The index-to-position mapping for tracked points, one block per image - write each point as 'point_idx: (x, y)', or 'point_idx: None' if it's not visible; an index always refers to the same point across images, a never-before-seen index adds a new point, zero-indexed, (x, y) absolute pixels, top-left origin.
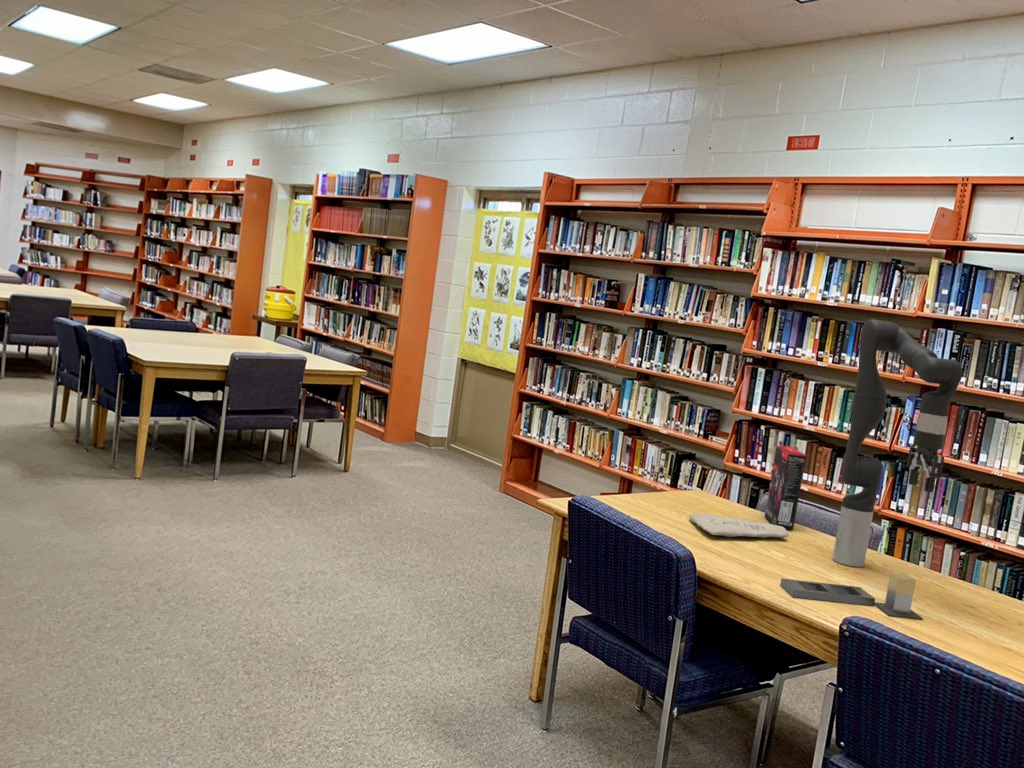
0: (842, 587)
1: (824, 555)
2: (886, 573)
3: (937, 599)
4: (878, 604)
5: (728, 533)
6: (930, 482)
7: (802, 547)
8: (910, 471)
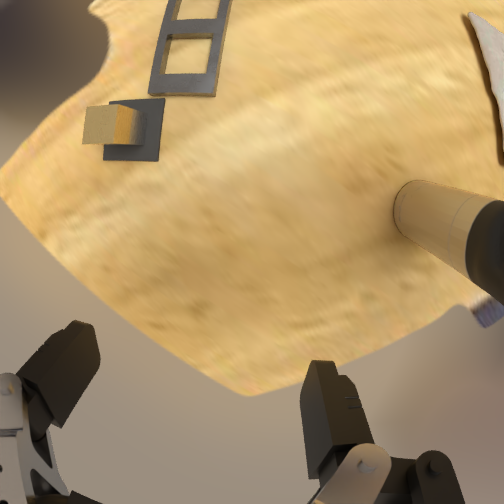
0: (209, 56)
1: (449, 184)
2: (364, 257)
3: (220, 268)
4: (153, 104)
5: (477, 37)
6: (29, 365)
7: (479, 169)
8: (356, 439)
